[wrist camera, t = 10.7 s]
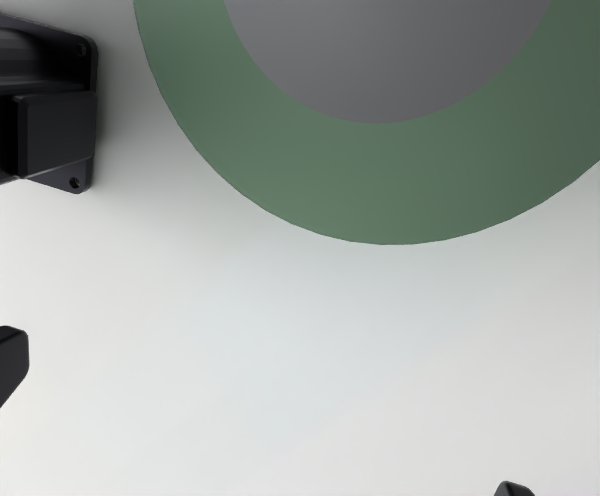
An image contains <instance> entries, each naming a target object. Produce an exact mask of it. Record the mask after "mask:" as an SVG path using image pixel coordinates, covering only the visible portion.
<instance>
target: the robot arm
mask: <svg viewBox="0 0 600 496" xmlns="http://www.w3.org/2000/svg"><path fill="white" fill-rule="evenodd" d="M82 44H83V45H84V46H85V48H86V54H85V55H83V54H82V52H81V49H80V48H81V45H82ZM97 59H98V50H97V46H96V44H95V42H94V41H93V40H92V39H91V38H89V37H87V36H84V35H80V34H76V33H73V32H69V31H65V30H62V29H58V28H54V27H51V26H47V25H43V24H39V23H36V22H32V21H28V20H25V19H21V18H17V17H14V16H10V15H6V14H3V13H0V185H2V184H5V183H8V182H12V181H15V180H18V179H28V180H31V181H34V182H38V183H41V184H44V185H47V186H51V187H54V188H57V189H60V190H64V191H67V192H70V193H73V194H80V193H82V192H85V191H87V190H88V189H89V188H90V184H91V166H92V156H93V155H94V148H95V130H96V113H97V97H96V77H97ZM75 178H77V179H78V180H79V182H80V186H78V185H77V184H76V182H75ZM28 369H29V342H28V335H27V333H26V332H25V331H23V330H20V329H17V328H14V327H11V326H0V408H1V407H2V406H3V404H4V403H5V402H6V401H7V399H8V398H9V397H10V396H11V394H12V393H13V392H14V391H15V389H16V388H17V387H18V386H19V384H20V383H21V382H22V381H23V379H24V378H25V376H26V374H27V372H28ZM494 496H535V495H534V494H533V492H532V491H531V490H530V489H529V488H527V487H525V486H522V485H519V484H516V483H512V482H509V481H503V482H502V483H501V484H500V485H499V486H498V488H497V490H496V492H495V494H494Z"/></svg>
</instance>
